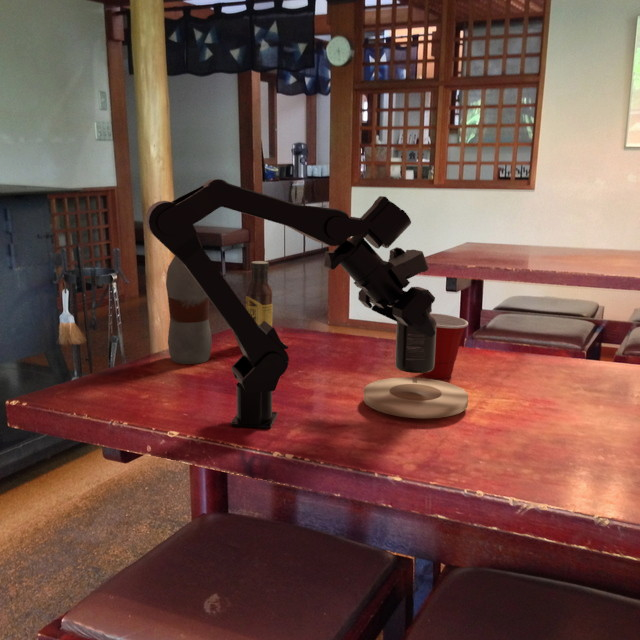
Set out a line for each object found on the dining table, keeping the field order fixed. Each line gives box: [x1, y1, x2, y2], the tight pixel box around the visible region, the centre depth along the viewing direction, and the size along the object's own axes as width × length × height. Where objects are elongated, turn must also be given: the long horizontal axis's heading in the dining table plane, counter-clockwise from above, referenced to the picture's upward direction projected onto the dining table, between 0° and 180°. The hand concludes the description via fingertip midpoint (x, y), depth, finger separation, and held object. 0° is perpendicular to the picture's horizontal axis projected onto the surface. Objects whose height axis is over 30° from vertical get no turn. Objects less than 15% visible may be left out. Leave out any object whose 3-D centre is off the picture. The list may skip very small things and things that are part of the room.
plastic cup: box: [422, 312, 469, 380], centre depth 135 cm, size 11×11×12 cm
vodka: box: [165, 255, 213, 365], centre depth 142 cm, size 9×9×30 cm
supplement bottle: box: [394, 303, 437, 374], centre depth 115 cm, size 7×7×12 cm
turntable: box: [363, 376, 469, 419], centre depth 117 cm, size 18×18×2 cm
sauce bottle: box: [245, 260, 274, 327], centre depth 156 cm, size 6×6×20 cm
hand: (423, 330), depth 115 cm, fingers closed on supplement bottle, 7 cm apart
